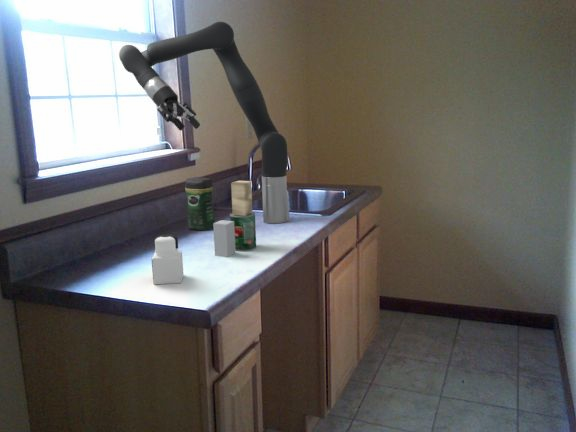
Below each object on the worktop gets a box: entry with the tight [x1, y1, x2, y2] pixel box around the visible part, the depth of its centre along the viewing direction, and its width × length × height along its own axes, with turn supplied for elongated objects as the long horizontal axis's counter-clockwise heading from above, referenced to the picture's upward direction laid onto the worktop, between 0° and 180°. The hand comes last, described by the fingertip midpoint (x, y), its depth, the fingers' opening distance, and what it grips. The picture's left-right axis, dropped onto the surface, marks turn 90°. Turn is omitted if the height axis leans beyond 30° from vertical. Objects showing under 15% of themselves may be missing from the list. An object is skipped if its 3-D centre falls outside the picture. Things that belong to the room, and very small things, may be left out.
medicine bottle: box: [151, 233, 184, 285], centre depth 152 cm, size 7×7×12 cm
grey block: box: [212, 219, 237, 258], centre depth 175 cm, size 4×4×10 cm
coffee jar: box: [184, 176, 216, 231], centre depth 208 cm, size 10×8×19 cm
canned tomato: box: [229, 211, 257, 252], centre depth 182 cm, size 8×8×11 cm
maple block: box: [230, 180, 253, 216], centre depth 179 cm, size 4×4×10 cm
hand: (190, 127), depth 193 cm, fingers open, 8 cm apart
